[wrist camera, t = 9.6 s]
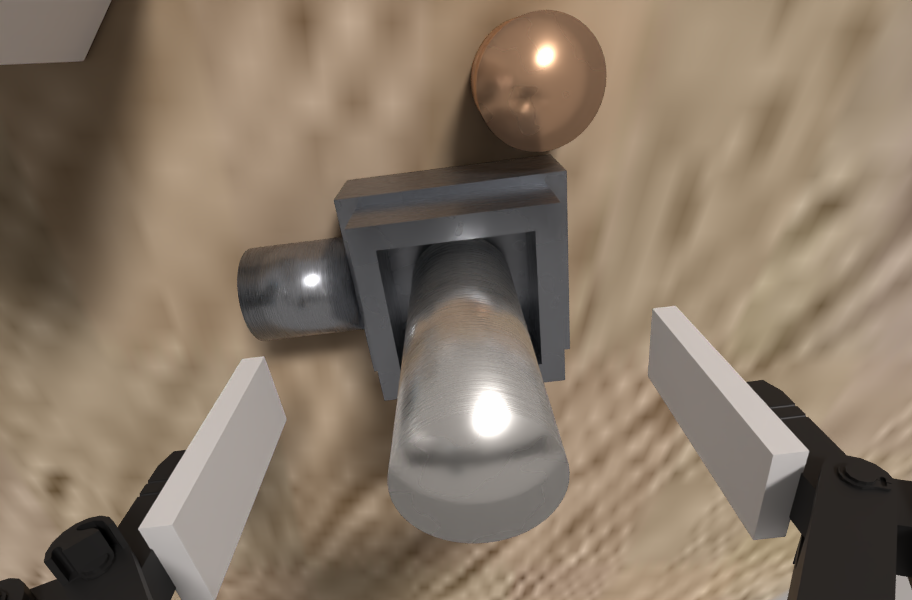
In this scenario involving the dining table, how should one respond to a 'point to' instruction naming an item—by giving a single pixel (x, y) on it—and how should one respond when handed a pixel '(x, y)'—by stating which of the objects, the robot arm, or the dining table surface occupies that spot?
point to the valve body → (400, 246)
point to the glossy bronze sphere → (539, 80)
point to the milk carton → (48, 29)
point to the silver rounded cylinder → (472, 405)
